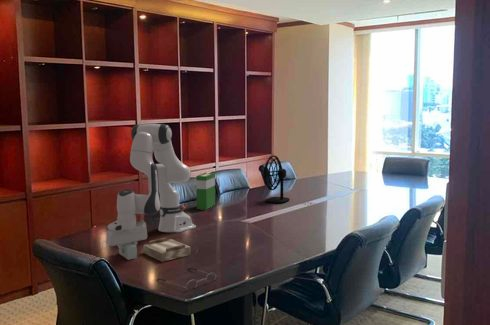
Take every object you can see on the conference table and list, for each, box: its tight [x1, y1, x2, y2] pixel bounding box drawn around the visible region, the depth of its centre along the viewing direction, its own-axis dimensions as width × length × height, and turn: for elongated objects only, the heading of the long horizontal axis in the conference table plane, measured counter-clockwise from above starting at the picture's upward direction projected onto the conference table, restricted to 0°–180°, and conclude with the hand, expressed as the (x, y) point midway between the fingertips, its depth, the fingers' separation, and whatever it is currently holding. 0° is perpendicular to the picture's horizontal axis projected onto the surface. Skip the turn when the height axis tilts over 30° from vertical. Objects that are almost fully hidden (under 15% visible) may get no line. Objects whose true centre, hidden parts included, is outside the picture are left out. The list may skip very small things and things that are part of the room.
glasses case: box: [118, 242, 138, 261], centre depth 231 cm, size 4×12×6 cm, turn 35°
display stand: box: [142, 237, 192, 263], centre depth 234 cm, size 16×18×6 cm
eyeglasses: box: [156, 267, 218, 291], centre depth 199 cm, size 18×19×4 cm
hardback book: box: [195, 172, 216, 211], centre depth 340 cm, size 18×7×24 cm, turn 164°
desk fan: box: [262, 154, 291, 204], centre depth 361 cm, size 27×18×35 cm, turn 150°
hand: (127, 251), depth 231 cm, fingers closed on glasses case, 5 cm apart
